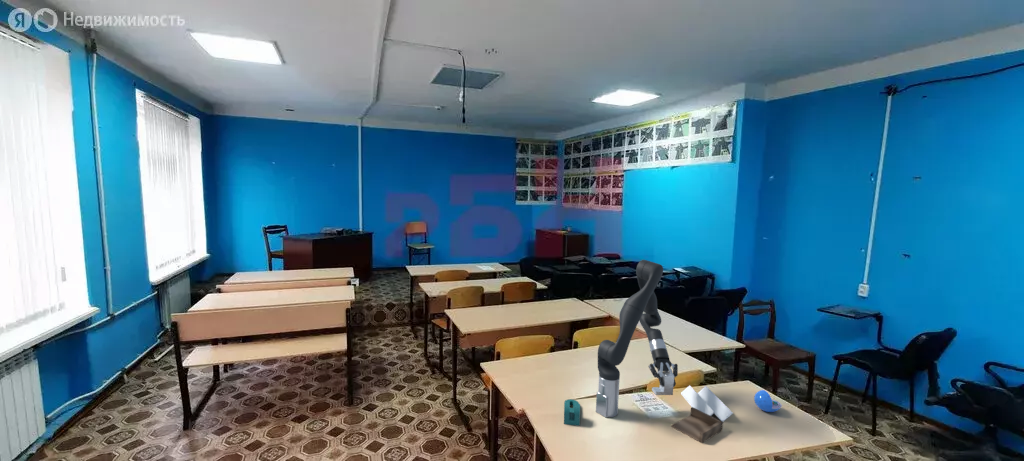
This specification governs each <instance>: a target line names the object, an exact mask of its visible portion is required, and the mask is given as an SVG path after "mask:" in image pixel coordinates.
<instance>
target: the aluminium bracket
mask: <svg viewBox="0 0 1024 461" xmlns="http://www.w3.org/2000/svg"><path fill="white" fill-rule="evenodd" d="M662 377H663V380H664V384H665V386H664V387H662V386H661V385H660V384H659V387H658V386H657V387H656V386H654V387H651V391H652V392H653V393H654V395H655V396H673V395H674V387H673V385H674V379H675V378H674V376H673V375H672V374H671V373H669V372H662Z"/></svg>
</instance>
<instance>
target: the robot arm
mask: <svg viewBox="0 0 1024 461" xmlns="http://www.w3.org/2000/svg"><path fill="white" fill-rule="evenodd" d="M663 272H664V267H663V265H662V264H660V263H656V262H654V261H650V260H646V259H641V260H640V261H639V262H638V263H637V265H636V270H635V274H636V279H637V283H638V287H639V290H638V291H637V292H636V293H634V294H632V295H631V296H630V297H628V298H627V299H626V300H625V301H624V303H623V305H622V308H621V310H620V312H619V319H618V320H619V334H618V337H617V338H616V342H615V341H612V340H609V339H604V340H602V341H601V342H599V346H598V349H597V370H598V388H597V389H598V390H597V391H596V401H595V403H596V404H595V412H596V413H597V414H599V415H601V416H602V417H604V418H614V417H616V416H618V412H619V395H620V394H619V393H620V377H621V373H620V370H619V369H618V367H617V366H619V365H621V364H622V362H623V361H624V359H625V357H626V355H627V351H628V349H629V347H630V342H631V341H632V338H633V336H634V333H635V331H636V328H637V327H638V324H639V323H640V325H641V327H642V329H643V330H644V332H645V334H646V336H647V340H648V343H649V351H650V353H651V359H652V361H653V363H650V364H649V365H648V369H649V370H650V373H651V374H652V375H653V377H654V378H656V379H658V381H659V386H660V385H661V386H662V387H664V386H665V384H664V380H663V377H662V372H669V373H671V374H672V375H673V376H674V385H673V388H675V387H676V384H677V383H676V380H675V378H677V377H678V374H679V373H678V372H679V371H678V370H679V368H678V367H679V366H678V363H672V362H671V360H670V355H669V353H668V349H667V346H666V343H665V341H664V336H663V334H662V330H661V329H659V328H653V327H659V326H660V325H661V324H662V318H661V315H660V312H659V310H658V299H657V295H656V293H655V289H656V288H657V285H658V283H659V282H660V280H661V278H662V276H663Z"/></svg>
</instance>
